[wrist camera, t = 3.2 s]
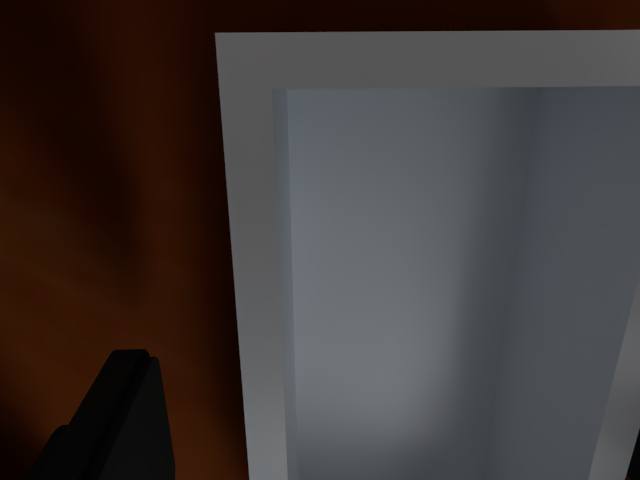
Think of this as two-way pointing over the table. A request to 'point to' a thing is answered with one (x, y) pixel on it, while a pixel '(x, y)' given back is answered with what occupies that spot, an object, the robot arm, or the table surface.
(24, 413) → the table surface
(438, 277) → the tray
